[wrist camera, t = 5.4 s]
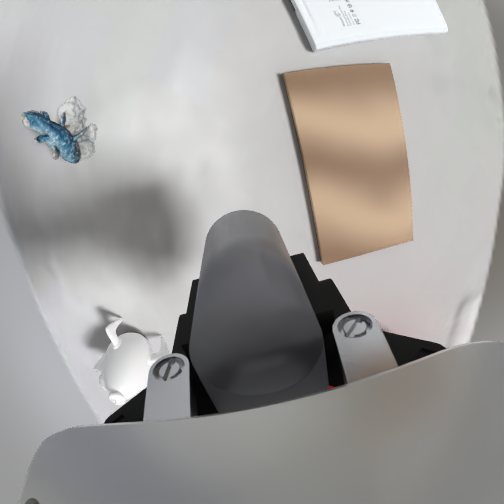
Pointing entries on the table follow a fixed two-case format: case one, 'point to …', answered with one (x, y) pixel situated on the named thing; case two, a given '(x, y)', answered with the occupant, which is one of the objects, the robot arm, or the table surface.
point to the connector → (253, 319)
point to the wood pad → (352, 157)
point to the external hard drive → (366, 20)
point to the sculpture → (64, 131)
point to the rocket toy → (126, 364)
